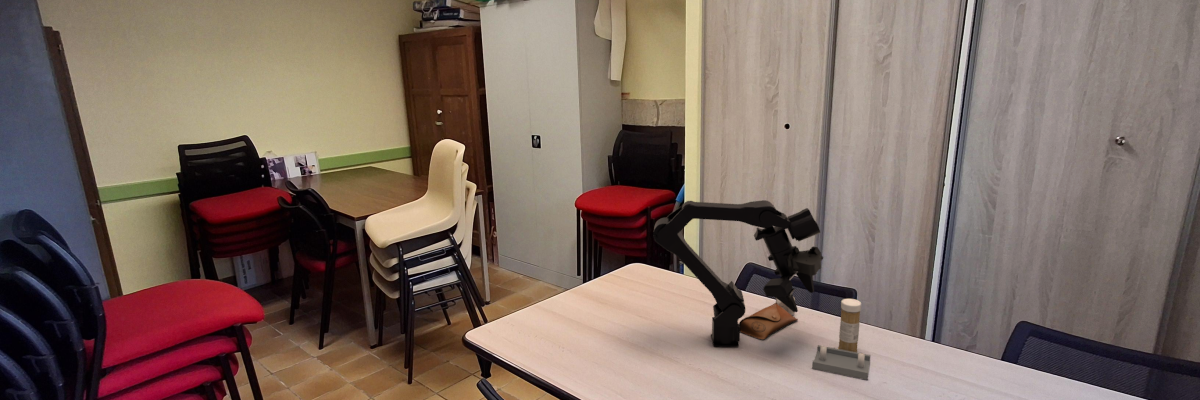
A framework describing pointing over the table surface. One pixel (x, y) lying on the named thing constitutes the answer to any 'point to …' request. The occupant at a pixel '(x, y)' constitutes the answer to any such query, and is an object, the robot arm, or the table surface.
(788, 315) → the sunglasses case
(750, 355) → the table surface
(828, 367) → the tray
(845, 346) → the sprinkles bottle
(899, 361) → the table surface
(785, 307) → the die
